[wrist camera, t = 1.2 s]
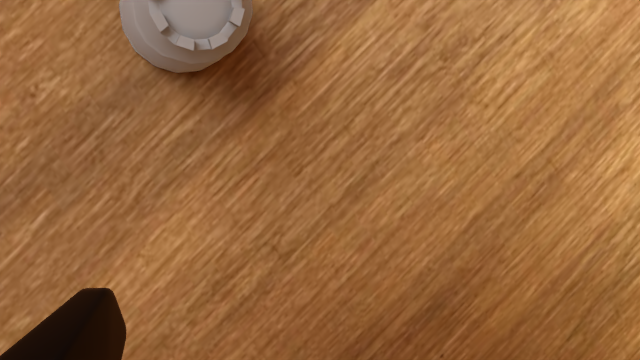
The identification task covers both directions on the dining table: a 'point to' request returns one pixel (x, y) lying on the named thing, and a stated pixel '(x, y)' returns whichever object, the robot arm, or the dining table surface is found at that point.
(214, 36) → the rook chess piece
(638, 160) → the dining table surface
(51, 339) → the robot arm
